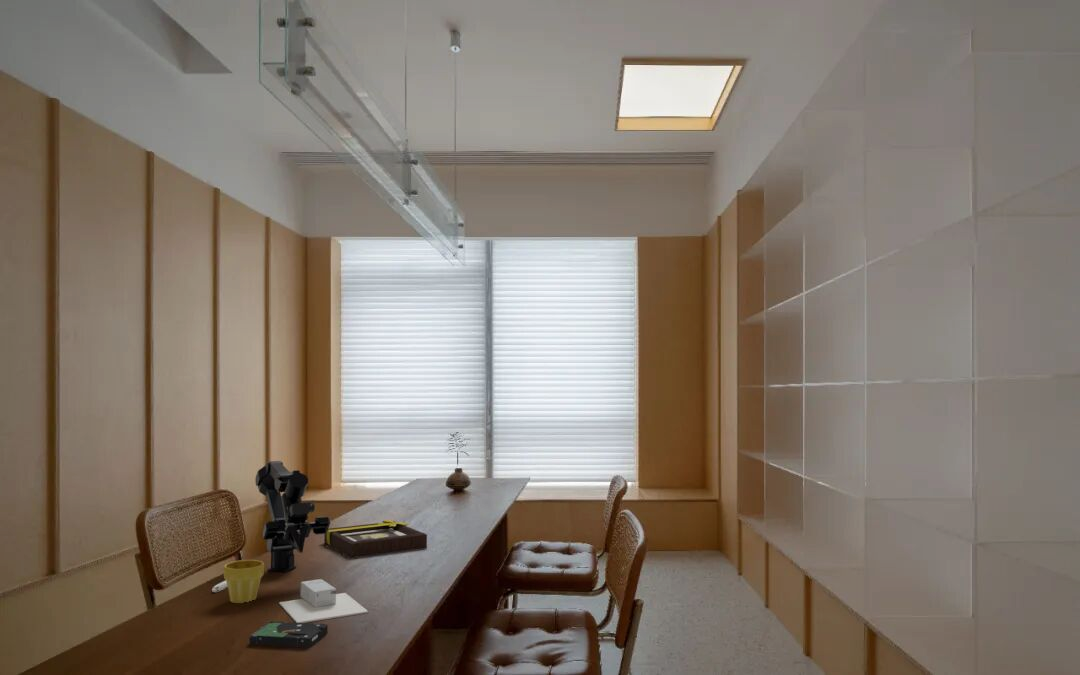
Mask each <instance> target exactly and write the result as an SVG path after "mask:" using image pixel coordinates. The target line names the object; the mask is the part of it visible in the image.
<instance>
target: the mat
mask: <svg viewBox="0 0 1080 675" xmlns="http://www.w3.org/2000/svg"><path fill="white" fill-rule="evenodd" d="M279 605H280V607H281V608H283V610H284V611H285V612H286V613H287V614H288V615H289V616H290V617H291V619H292V620H293V621H294V623H311V622H313V623H314V622H319V621H324V620H331V619H336V618H342V617H343V618H344V617H349V616H356V615H362V614H368V613H369V611H368V610H367V609H366V608H365V607H363V606H362V604H360V603H359V602H357V601H356V600H355V599H354V598H353V597H351V596H350V595H349V594H347V592H342V593H336V604H331V605H326V606H320V607H313V606H312V605H311V604H309V603H308V602H307V601H306V600H304V599H303V598H300V599H293V600H286V601H280V602H279Z"/></svg>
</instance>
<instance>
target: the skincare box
mask: <svg viewBox="0 0 1080 675" xmlns="http://www.w3.org/2000/svg"><path fill="white" fill-rule="evenodd" d="M336 594H337V588H335V587H334V586H332V585H331V584H330V583H328V582H327V581H325V580H323V579H322V578H321V579H320V578H319V579H312V580H306V581H301V582H300V597H301V599H304V600H306V601H307V602H308V603H309V604H311V605H312V606H313V607H320V606H326V605H331V604H336Z"/></svg>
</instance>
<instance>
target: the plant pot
mask: <svg viewBox="0 0 1080 675" xmlns="http://www.w3.org/2000/svg"><path fill="white" fill-rule="evenodd" d="M264 574H265V563H264V561H262V560H260V559H241V560H235V561H230V562H227V563H226V564H224V566H223V578H224V580H226V581H227V586H228V587H227V591H228V596H229V600H230V602H231V603H233V604H245V603H244V602H247V603H250V602H249V601H251V602H253V601H252V600H254V601H255V600H256V599H257V596H258V591H259V587H260V583H261V580H262V577H263V576H264Z"/></svg>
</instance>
